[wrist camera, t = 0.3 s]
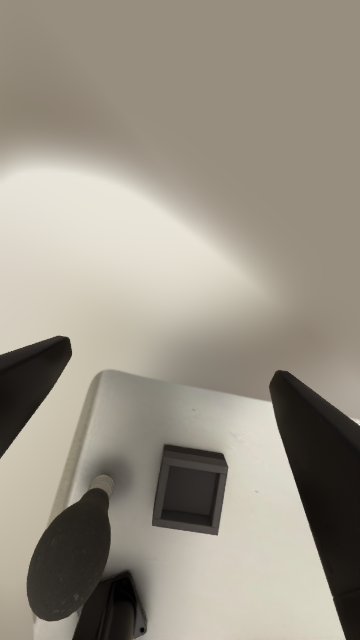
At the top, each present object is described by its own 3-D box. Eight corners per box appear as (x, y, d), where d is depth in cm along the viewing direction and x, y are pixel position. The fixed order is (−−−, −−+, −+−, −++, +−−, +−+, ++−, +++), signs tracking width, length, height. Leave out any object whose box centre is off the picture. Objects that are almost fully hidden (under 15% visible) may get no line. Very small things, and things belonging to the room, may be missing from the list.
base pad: (213, 515, 22) (217, 535, 20) (153, 506, 22) (151, 526, 20) (223, 453, 22) (228, 467, 20) (164, 444, 22) (163, 456, 20)
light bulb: (128, 452, 22) (90, 556, 12) (130, 501, 22) (95, 648, 12) (80, 457, 22) (1, 566, 12) (82, 507, 22) (4, 661, 12)
